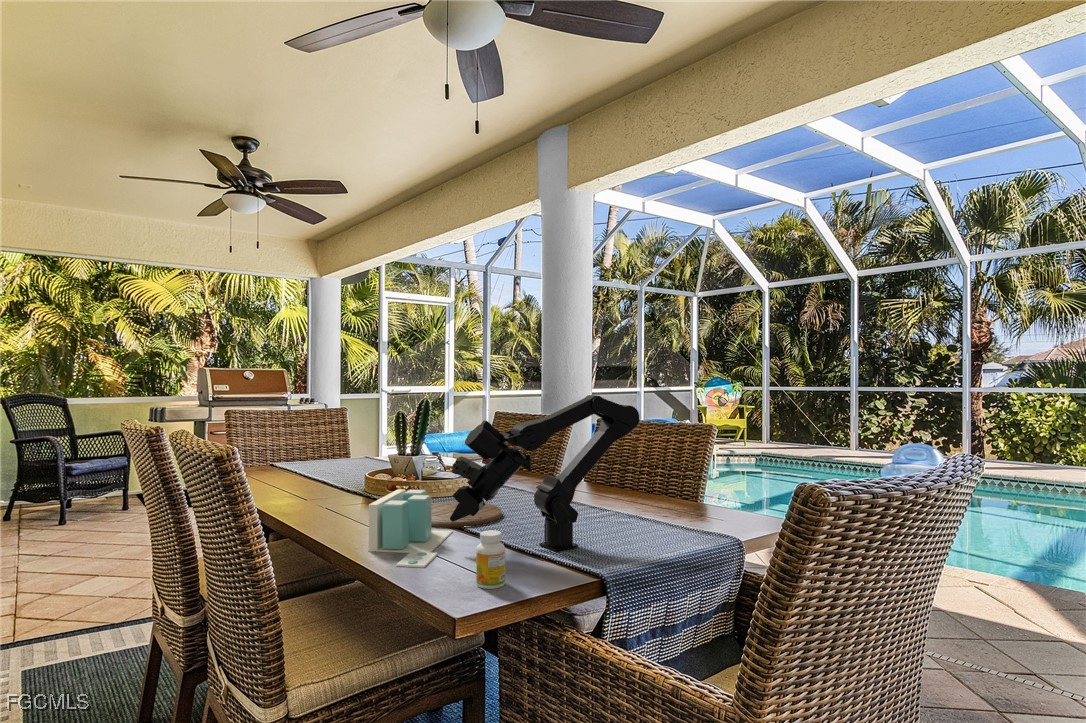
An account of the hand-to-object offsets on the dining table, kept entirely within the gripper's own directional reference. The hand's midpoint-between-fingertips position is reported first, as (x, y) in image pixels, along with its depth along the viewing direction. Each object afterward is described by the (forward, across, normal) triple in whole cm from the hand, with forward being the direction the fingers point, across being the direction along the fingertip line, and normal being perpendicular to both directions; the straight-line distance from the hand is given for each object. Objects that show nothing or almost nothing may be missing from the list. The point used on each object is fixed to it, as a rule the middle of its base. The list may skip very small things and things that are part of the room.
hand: (451, 519), depth 143 cm
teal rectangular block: (+14, -12, -4) cm, 19 cm away
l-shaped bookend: (+13, -6, -3) cm, 14 cm away
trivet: (+11, -31, -1) cm, 33 cm away
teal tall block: (+14, +1, -4) cm, 14 cm away
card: (+8, +8, +1) cm, 12 cm away
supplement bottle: (-5, +21, +15) cm, 26 cm away
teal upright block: (+12, -6, -2) cm, 13 cm away
